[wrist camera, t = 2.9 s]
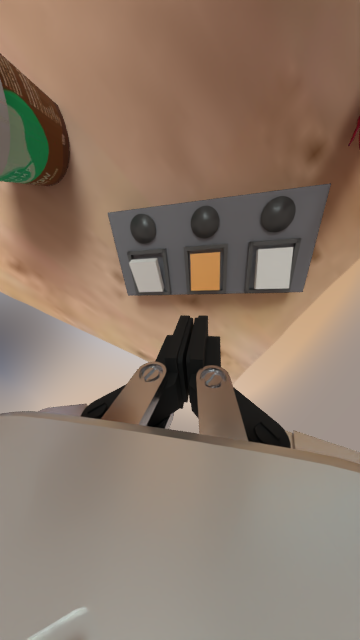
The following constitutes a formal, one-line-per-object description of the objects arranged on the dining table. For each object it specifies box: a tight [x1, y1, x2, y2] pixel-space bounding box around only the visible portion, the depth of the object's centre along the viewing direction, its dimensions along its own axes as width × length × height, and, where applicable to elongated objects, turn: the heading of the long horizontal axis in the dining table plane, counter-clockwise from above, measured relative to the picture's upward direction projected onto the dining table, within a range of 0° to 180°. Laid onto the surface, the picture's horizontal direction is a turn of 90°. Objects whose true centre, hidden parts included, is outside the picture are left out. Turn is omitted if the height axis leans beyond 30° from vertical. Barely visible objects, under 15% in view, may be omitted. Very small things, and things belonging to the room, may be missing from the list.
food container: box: [0, 54, 70, 186], centre depth 17 cm, size 12×6×10 cm, turn 112°
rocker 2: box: [254, 247, 293, 289], centre depth 18 cm, size 4×3×1 cm
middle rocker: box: [190, 252, 220, 291], centre depth 20 cm, size 4×3×1 cm
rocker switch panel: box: [108, 184, 331, 295], centre depth 21 cm, size 10×22×4 cm, turn 95°
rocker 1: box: [129, 258, 164, 292], centre depth 21 cm, size 4×3×1 cm
